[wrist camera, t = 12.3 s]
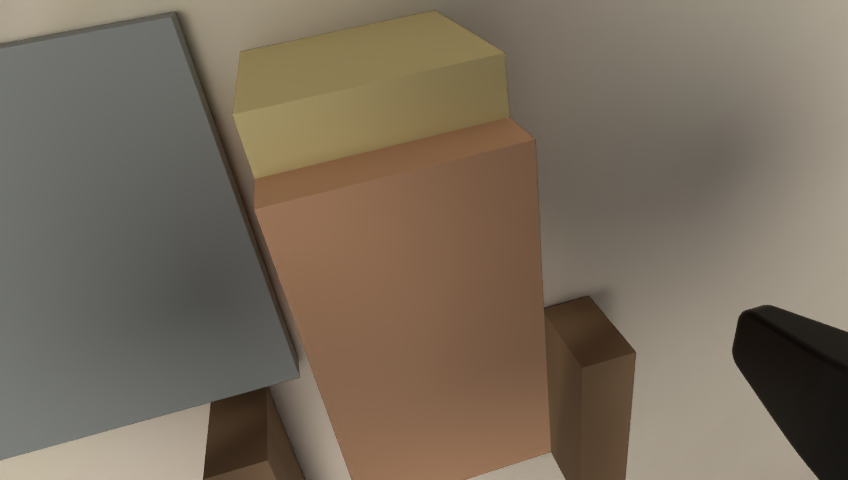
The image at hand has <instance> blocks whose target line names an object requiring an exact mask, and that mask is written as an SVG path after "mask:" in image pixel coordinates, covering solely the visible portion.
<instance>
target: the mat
mask: <svg viewBox="0 0 848 480" xmlns="http://www.w3.org/2000/svg"><path fill="white" fill-rule="evenodd" d="M296 378H300V374H299V362H298V359H297V356H296V353H295V351H294V348H293V345H292V342H291V339H290V336H289V333H288V331H287V328H286V325H285V322H284V319H283V316H282V314H281V311H280V308H279V305H278V302H277V299H276V297H275V294H274V291H273V288H272V285H271V282H270V280H269V277H268V274H267V271H266V268H265V265H264V262H263V260H262V257H261V254H260V251H259V248H258V245H257V243H256V240H255V237H254V234H253V231H252V228H251V226H250V223H249V220H248V217H247V214H246V211H245V209H244V206H243V203H242V200H241V197H240V194H239V191H238V189H237V186H236V183H235V180H234V177H233V174H232V172H231V169H230V166H229V163H228V160H227V157H226V155H225V152H224V149H223V146H222V143H221V140H220V137H219V135H218V132H217V129H216V126H215V123H214V120H213V118H212V115H211V112H210V109H209V106H208V103H207V101H206V98H205V95H204V92H203V89H202V86H201V84H200V81H199V78H198V75H197V72H196V69H195V66H194V64H193V61H192V58H191V55H190V52H189V49H188V47H187V44H186V41H185V38H184V35H183V32H182V30H181V27H180V24H179V21H178V18H177V15H176V13H175V12H171V13H165V14H160V15H154V16H149V17H144V18H138V19H133V20H127V21H122V22H116V23H111V24H106V25H100V26H95V27H89V28H84V29H79V30H73V31H68V32H62V33H57V34H52V35H46V36H41V37H35V38H30V39H25V40H19V41H14V42H8V43H3V44H0V460H3V459H7V458H11V457H14V456H18V455H22V454H25V453H29V452H32V451H36V450H40V449H43V448H47V447H50V446H54V445H58V444H61V443H65V442H69V441H72V440H76V439H79V438H83V437H87V436H90V435H94V434H97V433H101V432H105V431H108V430H112V429H116V428H119V427H123V426H126V425H130V424H134V423H137V422H141V421H144V420H148V419H152V418H155V417H159V416H163V415H166V414H170V413H173V412H177V411H181V410H184V409H188V408H191V407H195V406H199V405H202V404H206V403H210V402H213V401H217V400H220V399H224V398H228V397H231V396H235V395H238V394H242V393H246V392H249V391H253V390H257V389H260V388H264V387H267V386H271V385H275V384H278V383H282V382H285V381H289V380H293V379H296Z"/></svg>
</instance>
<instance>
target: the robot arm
mask: <svg viewBox="0 0 848 480" xmlns="http://www.w3.org/2000/svg"><path fill="white" fill-rule="evenodd" d="M732 354H733V358H734V361H735V363H736V365H737V367H738V368H739V370H740V371H741V373H742V374H743V376H744V377H745V379H746V380H747V381H748V383H749V384H750V386H751V387H752V389H753V390H754V392H755V393H756V395H757V396H758V397H759V399H760V400H761V402H762V403H763V405H764V406H765V408H766V409H767V411H768V412H769V414H770V415H771V416H772V418H773V419H774V421H775V422H776V424H777V425H778V427H779V428H780V430H781V431H782V432H783V434H784V435H785V437H786V438H787V440H788V441H789V442H790V444H791V445H792V446H793V448H794V449H795V451H796V452H797V453H798V454H799V456H800V457H801V458H802V459H803V461H804V462H805V463H806V464H807V466H808V467H809V468H810V469H811V470H812V472H813V473H814V474H815V475H816V476H817V478H818V479H819V480H848V332H846V331H843V330H840V329H838V328H835V327H832V326H829V325H826V324H823V323H821V322H818V321H815V320H812V319H809V318H806V317H803V316H801V315H798V314H795V313H792V312H789V311H786V310H784V309H781V308H778V307H775V306H772V305H762V306H759V307H755V308H752V309H748V310H745V311H743V312H742V313H741V314H740V316H739V318H738V323H737V328H736V333H735V338H734V342H733V347H732Z"/></svg>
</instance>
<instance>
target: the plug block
mask: <svg viewBox="0 0 848 480" xmlns="http://www.w3.org/2000/svg"><path fill="white" fill-rule="evenodd" d="M232 116H233V118H234V121H235V124H236V127H237V130H238V133H239V136H240V138H241V141H242V144H243V147H244V150H245V153H246V156H247V159H248V161H249V164H250V167H251V170H252V173H253V176H254V179H255V189H254V211H255V213H256V216H257V219H258V222H259V224H260V227H261V230H262V233H263V235H264V238H265V241H266V244H267V247H268V249H269V252H270V255H271V258H272V260H273V263H274V266H275V269H276V272H277V274H278V277H279V280H280V283H281V285H282V288H283V291H284V294H285V296H286V299H287V302H288V305H289V308H290V310H291V313H292V316H293V319H294V321H295V324H296V327H297V330H298V332H299V335H300V338H301V341H302V344H303V346H304V349H305V352H306V355H307V357H308V360H309V363H310V366H311V369H312V371H313V374H314V377H315V380H316V382H317V385H318V388H319V391H320V393H321V396H322V399H323V402H324V405H325V407H326V410H327V413H328V416H329V418H330V421H331V424H332V427H333V430H334V432H335V435H336V438H337V441H338V443H339V446H340V449H341V452H342V454H343V457H344V460H345V463H346V466H347V468H348V471H349V474H350V477H351V479H352V480H466V479H469V478H472V477H475V476H478V475H481V474H484V473H488V472H491V471H494V470H497V469H500V468H503V467H506V466H509V465H512V464H515V463H518V462H521V461H524V460H528V459H531V458H534V457H537V456H540V455H543V454H546V453H549V452H551V442H550V422H549V402H548V382H547V361H546V341H545V321H544V301H543V280H542V260H541V240H540V220H539V199H538V179H537V159H536V139H534V138H533V137H532V136H531V135H530V134H529V133H527V132H526V131H525V130H524V129H523V128H522V127H520V126H519V125H518V124H517V123H516V122H515V121H513V120H512V119H511V118H510V116H509V103H508V89H507V75H506V62H505V53H504V52H503V51H501V50H499V49H498V48H496V47H494V46H493V45H491V44H489V43H488V42H486V41H484V40H483V39H481V38H480V37H478V36H476V35H475V34H473V33H471V32H470V31H468V30H466V29H465V28H463V27H461V26H460V25H458V24H456V23H455V22H453V21H452V20H450V19H448V18H447V17H445V16H443V15H442V14H440V13H438V12H437V11H435V10H434V11H429V12H425V13H420V14H415V15H410V16H406V17H401V18H396V19H392V20H387V21H382V22H378V23H373V24H368V25H363V26H359V27H354V28H349V29H345V30H340V31H335V32H331V33H326V34H321V35H317V36H312V37H307V38H302V39H298V40H293V41H288V42H284V43H279V44H274V45H270V46H265V47H260V48H256V49H251V50H246V51H242V52H240V58H239V66H238V73H237V81H236V89H235V97H234V105H233V113H232Z"/></svg>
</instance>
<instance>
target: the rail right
mask: <svg viewBox="0 0 848 480" xmlns="http://www.w3.org/2000/svg"><path fill="white" fill-rule="evenodd" d="M544 321H545V341H546V361H547V382H548V402H549V422H550V442H551V453H552V455H553V457H554V458H555V460H556V462H557V464H558V466H559V468H560V470H561V472H562V473H563V475H564V477H565V479H566V480H625V478H626V466H627V454H628V442H629V431H630V419H631V407H632V395H633V383H634V371H635V360H636V351H635V350H634V349H633V348H632V347H631V345H630V344H629V343H628V342H627V341H626V339H625V338H624V337H623V336H622V335H621V333H620V332H619V331H618V330H617V329H616V328H615V326H614V325H613V324H612V323H611V322H610V320H609V319H608V318H607V317H606V316H605V314H604V313H603V312H602V311H601V310H600V308H599V307H598V306H597V305H596V304H595V302H594V301H593V300H592V299H591V298H590V296H588V297H584V298H581V299H577V300H574V301H570V302H566V303H563V304H559V305H555V306H552V307H548V308H545V309H544Z"/></svg>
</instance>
